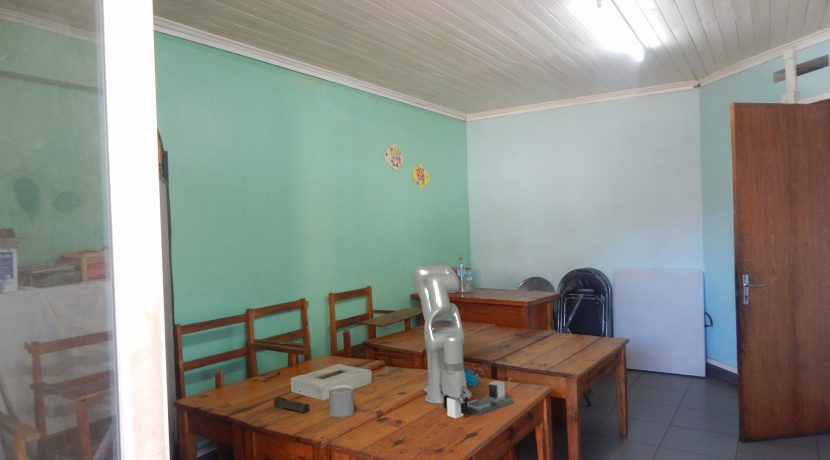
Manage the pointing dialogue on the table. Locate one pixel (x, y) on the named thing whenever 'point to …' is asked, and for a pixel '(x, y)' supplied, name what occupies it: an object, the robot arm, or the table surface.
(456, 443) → the table surface
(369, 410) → the table surface
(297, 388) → the box
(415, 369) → the table surface
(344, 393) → the coffee mug
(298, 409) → the hand tool
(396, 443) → the table surface
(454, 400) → the block
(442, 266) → the robot arm
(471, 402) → the rail
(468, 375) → the gear
